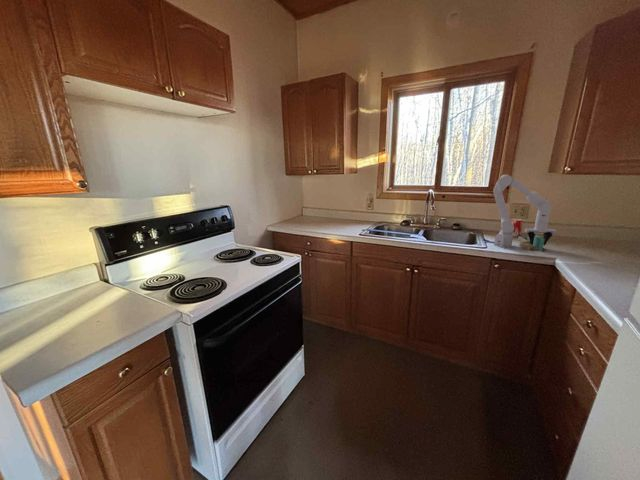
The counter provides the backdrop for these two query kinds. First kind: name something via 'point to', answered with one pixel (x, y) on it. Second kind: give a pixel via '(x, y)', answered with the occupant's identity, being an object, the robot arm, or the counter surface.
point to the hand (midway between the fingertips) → (537, 244)
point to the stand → (524, 239)
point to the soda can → (517, 227)
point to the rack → (534, 248)
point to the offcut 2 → (526, 246)
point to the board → (538, 242)
